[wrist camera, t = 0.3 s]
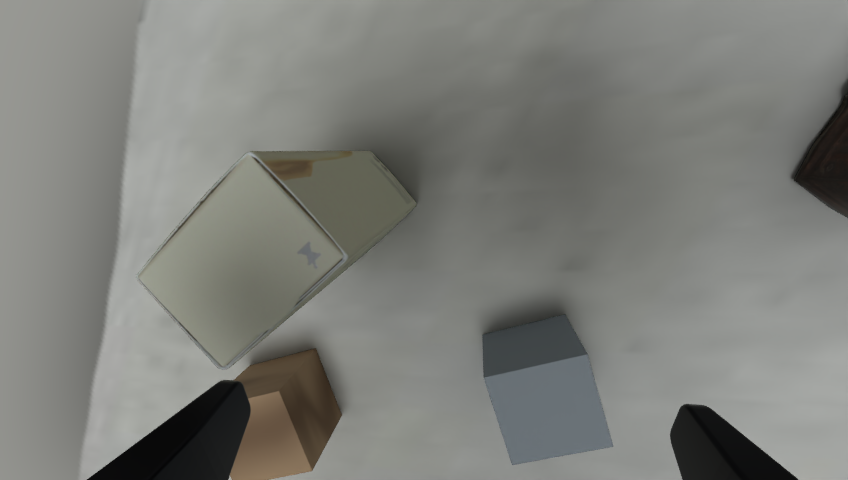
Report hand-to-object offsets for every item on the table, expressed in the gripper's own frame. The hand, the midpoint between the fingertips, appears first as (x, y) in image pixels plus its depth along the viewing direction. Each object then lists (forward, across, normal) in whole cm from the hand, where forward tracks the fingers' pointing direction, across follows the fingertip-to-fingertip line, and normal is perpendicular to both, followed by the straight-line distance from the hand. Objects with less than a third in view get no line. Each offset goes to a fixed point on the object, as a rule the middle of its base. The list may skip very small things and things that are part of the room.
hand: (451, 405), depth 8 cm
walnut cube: (+12, +11, +15) cm, 22 cm away
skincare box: (+16, +6, +3) cm, 17 cm away
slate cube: (+13, -5, +11) cm, 18 cm away
